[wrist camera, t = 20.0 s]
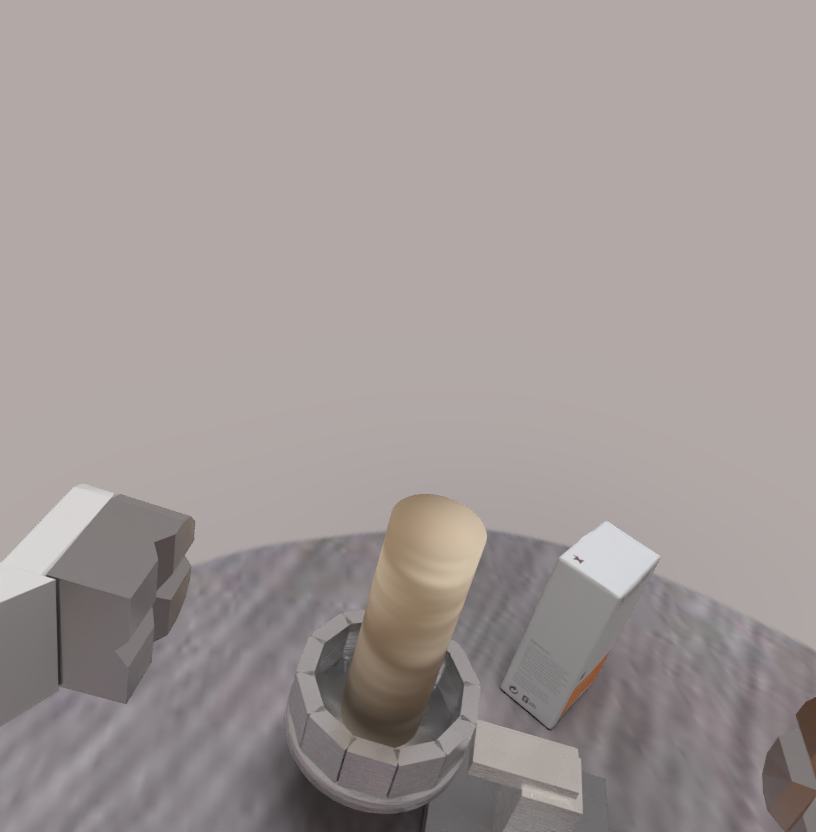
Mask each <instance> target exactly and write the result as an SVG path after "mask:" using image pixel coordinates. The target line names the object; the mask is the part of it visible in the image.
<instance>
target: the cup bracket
mask: <svg viewBox="0 0 816 832" xmlns="http://www.w3.org/2000/svg"><path fill="white" fill-rule="evenodd" d="M364 613H365V610H358V611H349V612H343V614H342V613H341V614H339V615H338V616H336V617H335V618H334V619H332V620H331V621H329V622H328V623H326V624H325V625H323V626H322V627H321V628H319V629H318V630H316V631H315V632H313V633H312V634H311V635H310V636H309V639H308V641H307V644H306V647H305V649H304V652H303V655H302V657H301V660H300V663H299V665H298V668H297V671H296V675H295V680H294V682H293V684H292V687H291V690H290V694H289V698H288V702H287V707H286V714H285V733H286V739H287V743H288V746H289V749H290V752H291V754H292V756H293V759H294V761H295V763H296V764H297V766H298V767H299V769H300V770H301V772H302V773H303V774H304V776H305V777H306V778H307V779H308V780H309V781H310V783H311V784H313V785H314V786H315V787H316V788H317V789H318V790H319V791H320V792H322V793H323V794H325V795H326V796H328V797H329V798H331V799H332V800H334V801H336V802H338V803H340V804H342V805H344V806H347V807H350V808H352V809H355V810H359V811H363V812H368V813H377V814H395V813H401V812H407V811H410V810H413V809H416V808H419V807H421V806H423V805H425V809H424V815H423V821H422V828H421V832H609V825H608V810H607V795H606V780H605V779H604V778H600V777H597V776H594V775H590V774H587V773H583V772H581V758H578V749H577V748H574V747H570V746H567V745H563V744H560V743H557V742H553V741H550V740H546V739H543V738H539V737H536V736H533V735H529V734H526V733H522V732H519V731H516V730H512V729H509V728H505V727H502V726H499V725H495V724H492V723H488V722H485V721H481V720H478V719H477V717H478V708H479V698H480V688H481V686H480V682H479V680H478V678H477V676H476V674H475V672H474V670H473V668H472V666H471V664H470V662H469V660H468V658H467V656H466V654H465V652H464V650H463V648H461V646H460V645H459V644H458V643H456V642H455V641H454V640H452V639H451V640H450V643H449V646H448V649H447V651H446V654H445V657H444V660H443V662H442V665H441V668H440V671H439V673H438V676H437V679H436V682H435V684H434V687H433V690H432V693H431V696H430V698H429V701H428V704H427V707H426V709H425V712H424V715H423V718H422V720H421V723H420V726H419V729H418V731H417V733H416V734H415V736H414V737H413V738H412V739H411V740H410V741H409V742H408V743H406V744H404V745H402V746H400V747H397V748H393V747H389V746H386V745H383V744H379V743H376V742H373V741H369V740H366V739H362V738H359V737H356V736H354V735H353V734H352V733H351V732H350V731H349V730H348V729H347V728H346V727H345V726H344V724H343V721H342V719H341V715H340V703H341V699H342V695H343V691H344V688H345V684H346V680H347V677H348V673H349V669H350V665H351V662H352V658H353V654H354V651H355V647H356V643H357V639H358V636H359V632H360V628H361V625H362V621H363V617H364Z"/></svg>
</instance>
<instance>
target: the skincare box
mask: <svg viewBox="0 0 816 832" xmlns="http://www.w3.org/2000/svg"><path fill="white" fill-rule="evenodd" d="M660 558H661V557H660V556H659V555H658V554H656V553H655V552H653V551H651V550H650V549H649V548H647V547H645V546H644V545H642V544H641V543H639V542H638V541H636V540H635V539H633V538H632V537H630V536H629V535H627V534H626V533H624V532H623V531H621V530H619V529H618V528H617V527H615V526H613V525H612V524H611V523H609V522H608V521H605V522H603V523H602V524H600V525H599V526H598V527H597V528H595V529H594V530H593V531H591V532H590V533H588V534H587V535H585V536H584V537H582V538H581V539H580V540H579V541H578V542H577V543H576V544H575V545H574V546H572V547H571V548H570V549H569V550H568V551H566V552H565V553H564V554H563V555H561V556H560V557H559V558H558V560H557V563H556V565H555V567H554V569H553V571H552V573H551V575H550V577H549V580H548V582H547V584H546V587H545V589H544V591H543V593H542V596H541V598H540V600H539V602H538V604H537V607H536V609H535V611H534V613H533V616H532V618H531V620H530V622H529V624H528V627H527V629H526V631H525V633H524V635H523V638H522V640H521V642H520V644H519V646H518V648H517V651H516V653H515V655H514V657H513V659H512V662H511V664H510V666H509V669H508V671H507V673H506V675H505V677H504V680H503V682H502V684H501V689H502V690H503V691H504V692H506V693H507V694H508V695H509V696H510V697H511V698H513V699H514V700H515V701H516V702H518V703H519V704H520V705H521V706H522V707H524V708H525V709H526V710H527V711H528V712H530V713H531V714H532V715H533V716H534V717H536V718H537V719H538V720H539V721H540V722H541V723H543V724H544V725H545V726H546V727H547V728H549V729H552V728H553V727H554V725H555V724H556V723H557V722H558V720H559V719H560V718H561V717H562V716H563V715H564V713H565V712H566V711H567V710H568V709H569V708H570V706H571V705H572V704H573V703H574V702H575V701H576V700H577V699H578V698H579V697H580V696H581V695H582V694H583V693H584V692H585V690H586V689H587V688H588V687H589V686H590V685H591V684H592V683H593V682H594V680H595V678H596V676H597V674H598V672H599V671H600V669H601V667H602V665H603V663H604V662H605V660H606V658H607V656H608V654H609V652H610V651H611V649H612V647H613V645H614V643H615V641H616V640H617V638H618V636H619V634H620V632H621V630H622V629H623V627H624V625H625V623H626V621H627V619H628V618H629V616H630V614H631V612H632V610H633V608H634V606H635V605H636V603H637V601H638V599H639V597H640V595H641V594H642V592H643V590H644V588H645V586H646V584H647V582H648V581H649V579H650V577H651V575H652V573H653V571H654V570H655V568H656V566H657V564H658V562H659V560H660Z"/></svg>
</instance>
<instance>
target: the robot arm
mask: <svg viewBox="0 0 816 832" xmlns="http://www.w3.org/2000/svg"><path fill="white" fill-rule="evenodd" d="M194 529H195V520H193V518H192V517H191V516H188V515H185V514H182V513H178V512H175V511H172V510H169V509H166V508H162V507H159V506H156V505H153V504H149V503H146V502H144V501H140V500H137V499H134V498H130V497H127V496H124V495H121V494H119V495H118V494H115V493H112V492H109V491H105V490H102V489H99V488H96V487H93V486H90V485H87V484H84V483H83V484H80V485H78V486H75V487H73V488H72V489H71V490H70V491H69V492H68V493H67V494H66V495H65V496H64V497H63V498H62V499H61V500H60V501H59V502H58V503H57V504H56V505H55V506H54V507H53V508H52V509H51V510H50V511H49V512H48V513H47V514H46V515H45V517H44V518H43V519H42V520H41V521H40V522H39V523H38V524H37V525H36V526H35V527H34V528H33V529H32V530H31V531H30V532H29V533H28V534H27V535H26V536H25V537H24V538H23V539H22V541H21V542H19V543H18V545H17V546H16V547H15V548H14V549H13V550H12V551H11V552H10V553H9V554H8V555H7V556H6V557H5V558H4V559H3V560H2V561H1V562H0V727H1V726H2V725H4V724H6V723H7V722H9V721H10V720H12V719H14V718H15V717H17V716H18V715H20V714H22V713H23V712H25V711H27V710H28V709H30V708H31V707H33V706H35V705H36V704H38V703H39V702H41V701H43V700H44V699H46V698H47V697H49V696H51V695H52V694H54V693H55V692H57V691H58V689H59V687H63V688H67V689H71V690H75V691H78V692H82V693H86V694H90V695H93V696H97V697H101V698H105V699H109V700H112V701H116V702H120V703H124V704H127V702H128V700H129V699H130V697H131V695H132V694H133V692H134V690H135V689H136V687H137V685H138V684H139V682H140V680H141V679H142V677H143V675H144V674H145V672H146V670H147V669H148V667H149V665H150V664H151V662H152V650H153V642H155V641H157V640H159V639H161V638H163V637H165V636H167V635H168V633H169V631H170V630H171V628H172V626H173V624H174V623H175V621H176V619H177V617H178V615H179V612H180V610H181V607H182V605H183V602H184V600H185V597H186V593H187V589H188V585H189V581H190V574H191V565H190V563H189V561H188V560H187V558H186V557H185V554H186V552H187V551H188V549H189V547H190V546H191V544H192V543H193V541H194ZM796 718H797V722H798V727H799V729H797V730H794V731H791V732H789V733H786V734H784V735H781V736H779V737H778V738H777V739H776V741H775V742H774V744H773V745H772V747H771V748H770V750H769V751H768V753H767V756H766V760H765V765H764V769H763V773H762V778H763V793H764V798H765V802H766V806H767V810H768V812H769V813H770V814H771V816H772V817H773V818H774V819H775V821H776V822H777V823H778V824H779V826H780V827H781V828H782V829H783V831H784V832H816V697H815V698H813V699H811V700H808V701H806V702H805V703H804V705H803V706H802V707H801V708H800V710H799V711H798V712H797V713H796Z"/></svg>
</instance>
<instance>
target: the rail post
mask: <svg viewBox="0 0 816 832" xmlns="http://www.w3.org/2000/svg"><path fill="white" fill-rule="evenodd" d="M486 539H487V534H486V530H485V527H484V525H483V523H482V521H481V520H480V519H479V517H478V516H477V515H476V514H475V513H474V512H473V511H471V510H470V509H469V508H467V507H466V506H464V505H463V504H461V503H459V502H457V501H455V500H452V499H449V498H446V497H443V496H438V495H430V494H420V495H413V496H410V497H407V498H405V499H402V500H401V501H400V502H398V503H397V504H396V505H395V507H394V508H393V510H392V513H391V517H390V520H389V524H388V528H387V531H386V535H385V539H384V543H383V546H382V550H381V554H380V558H379V561H378V565H377V569H376V572H375V576H374V580H373V584H372V587H371V591H370V595H369V598H368V602H367V606H366V610H365V613H364V617H363V621H362V625H361V628H360V632H359V636H358V639H357V643H356V647H355V651H354V654H353V658H352V662H351V665H350V669H349V673H348V677H347V680H346V684H345V688H344V691H343V695H342V699H341V703H340V715H341V719H342V721H343V724H344V726H345V727H346V728H347V729H348V730H349V731H350V732H351V733H352V734H353V735H354V736H356V737H359V738H362V739H366V740H369V741H373V742H376V743H379V744H383V745H386V746H389V747H393V748H397V747H400V746H402V745H404V744H406V743H408V742H409V741H410V740H411V739H412V738H413V737H414V736H415V734H416V733H417V731H418V729H419V726H420V723H421V720H422V718H423V715H424V712H425V709H426V707H427V704H428V701H429V698H430V696H431V693H432V690H433V687H434V684H435V682H436V679H437V676H438V673H439V671H440V668H441V665H442V662H443V660H444V657H445V654H446V651H447V649H448V646H449V643H450V640H451V637H452V635H453V632H454V629H455V626H456V624H457V621H458V618H459V615H460V613H461V610H462V607H463V604H464V602H465V599H466V596H467V593H468V590H469V588H470V585H471V582H472V579H473V577H474V574H475V571H476V568H477V566H478V563H479V560H480V557H481V555H482V552H483V549H484V546H485V544H486Z"/></svg>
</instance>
